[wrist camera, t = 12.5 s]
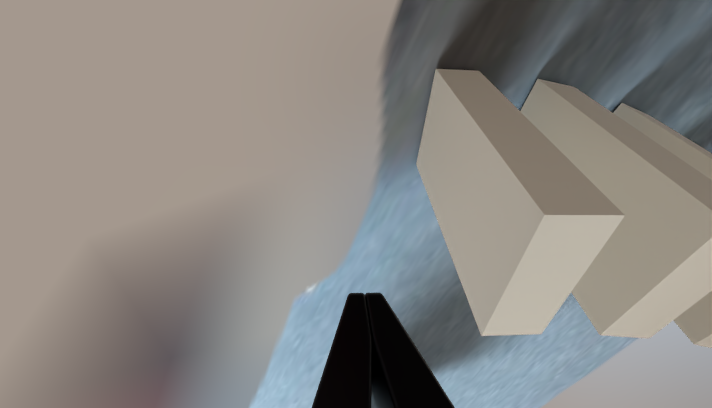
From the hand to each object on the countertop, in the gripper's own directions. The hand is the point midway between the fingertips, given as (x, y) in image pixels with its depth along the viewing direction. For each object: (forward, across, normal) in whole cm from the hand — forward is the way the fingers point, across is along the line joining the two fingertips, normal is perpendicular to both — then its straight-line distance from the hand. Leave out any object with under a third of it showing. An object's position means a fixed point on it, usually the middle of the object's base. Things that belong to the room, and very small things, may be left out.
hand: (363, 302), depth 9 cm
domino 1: (+10, -5, 0) cm, 12 cm away
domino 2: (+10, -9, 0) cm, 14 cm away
